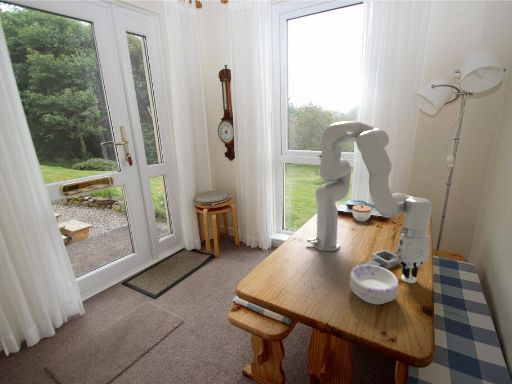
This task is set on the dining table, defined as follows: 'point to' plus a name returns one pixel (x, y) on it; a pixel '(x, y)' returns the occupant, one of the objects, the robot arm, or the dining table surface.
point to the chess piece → (409, 275)
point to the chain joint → (378, 261)
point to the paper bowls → (374, 284)
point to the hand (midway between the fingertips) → (409, 275)
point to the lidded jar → (361, 212)
